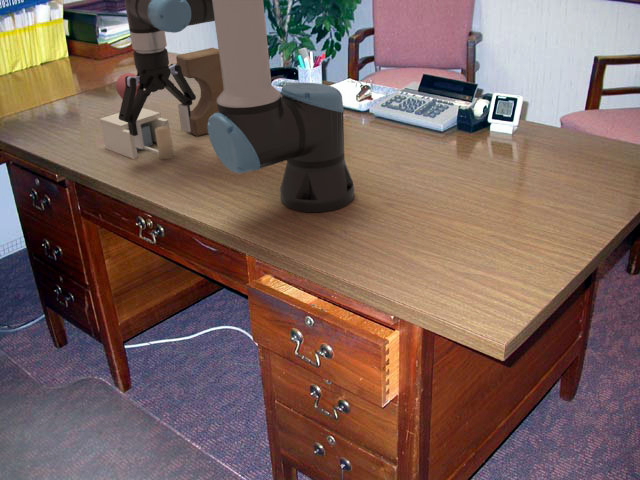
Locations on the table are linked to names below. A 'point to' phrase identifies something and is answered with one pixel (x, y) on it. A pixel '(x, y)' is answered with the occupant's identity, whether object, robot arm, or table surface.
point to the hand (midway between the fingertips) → (163, 139)
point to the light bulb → (121, 84)
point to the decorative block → (203, 85)
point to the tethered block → (158, 141)
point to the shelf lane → (120, 137)
